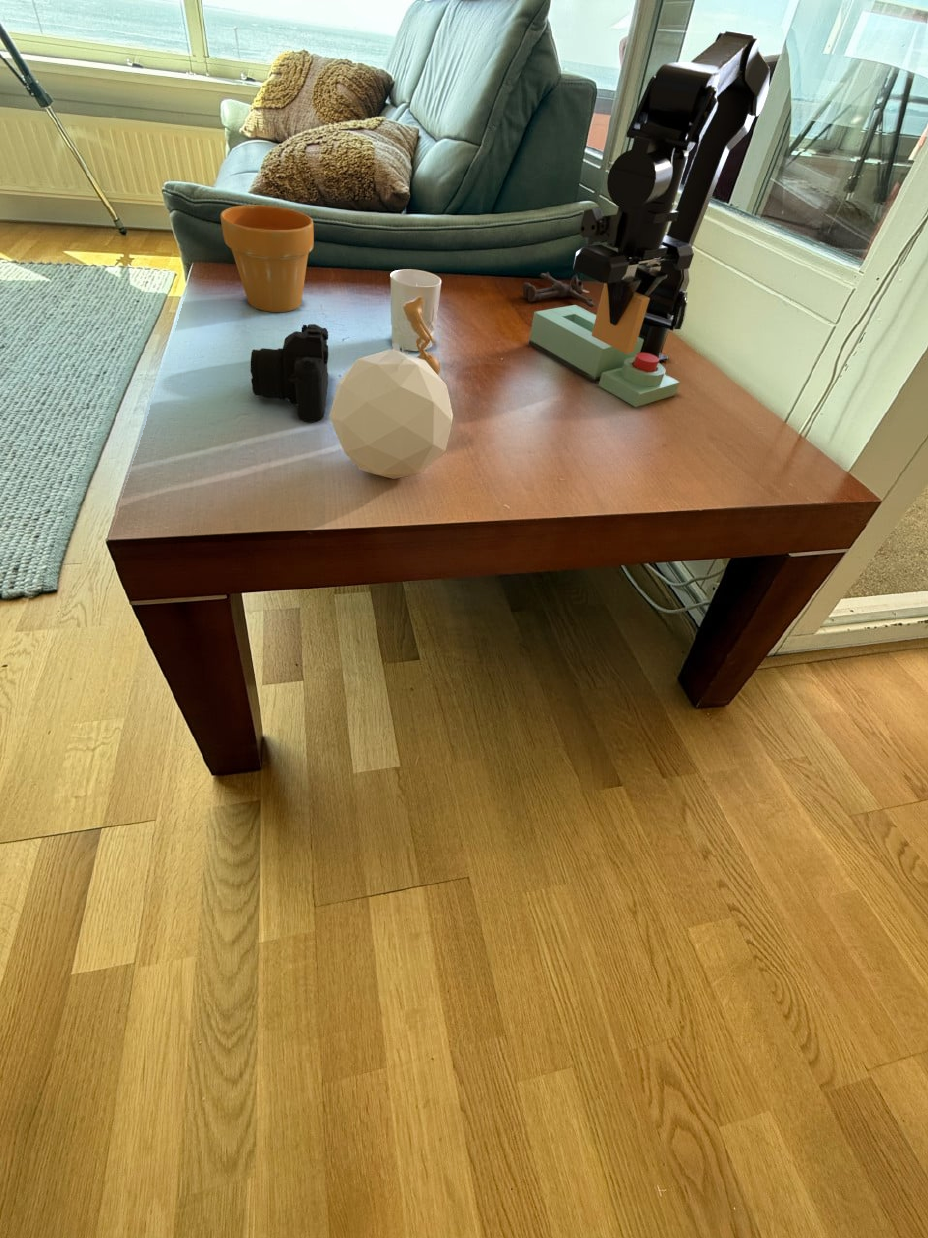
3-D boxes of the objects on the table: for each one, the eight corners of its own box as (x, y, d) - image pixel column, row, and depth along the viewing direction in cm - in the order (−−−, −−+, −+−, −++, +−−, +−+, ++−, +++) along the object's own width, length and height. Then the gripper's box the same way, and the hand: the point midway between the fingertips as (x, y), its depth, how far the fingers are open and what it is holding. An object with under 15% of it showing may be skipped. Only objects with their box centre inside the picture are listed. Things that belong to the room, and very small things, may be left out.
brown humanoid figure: (503, 268, 129) (561, 258, 134) (501, 290, 132) (558, 279, 137) (554, 300, 118) (614, 288, 123) (551, 323, 121) (610, 310, 127)
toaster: (568, 336, 115) (575, 304, 111) (633, 372, 107) (644, 339, 103) (528, 344, 110) (534, 311, 106) (593, 382, 102) (603, 348, 98)
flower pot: (308, 323, 105) (304, 235, 96) (221, 312, 104) (208, 222, 95) (323, 294, 115) (320, 212, 106) (243, 284, 114) (234, 199, 105)
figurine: (449, 391, 93) (458, 306, 85) (412, 395, 91) (418, 308, 82) (425, 367, 98) (431, 284, 90) (389, 370, 96) (392, 286, 87)
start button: (642, 361, 101) (646, 350, 100) (660, 371, 99) (663, 360, 98) (628, 365, 99) (631, 354, 98) (645, 375, 97) (649, 363, 96)
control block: (638, 374, 106) (645, 350, 103) (675, 395, 102) (684, 370, 99) (598, 385, 101) (605, 360, 98) (635, 407, 97) (643, 382, 94)
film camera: (264, 369, 91) (257, 304, 85) (332, 375, 93) (330, 311, 86) (249, 421, 81) (239, 351, 74) (326, 426, 82) (323, 357, 76)
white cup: (429, 356, 101) (435, 290, 94) (382, 347, 102) (384, 280, 95) (440, 339, 107) (446, 275, 100) (395, 330, 107) (398, 265, 100)
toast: (599, 333, 96) (612, 280, 90) (633, 351, 92) (650, 297, 87) (591, 335, 95) (604, 282, 90) (625, 354, 91) (642, 299, 86)
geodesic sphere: (322, 378, 78) (324, 309, 64) (434, 380, 82) (459, 314, 68) (332, 495, 77) (336, 450, 63) (446, 492, 80) (474, 448, 66)
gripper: (650, 178, 89) (618, 295, 100) (557, 183, 80) (534, 312, 91) (714, 200, 84) (673, 321, 95) (623, 208, 74) (589, 342, 85)
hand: (617, 322), depth 92 cm, fingers closed on toast, 2 cm apart
